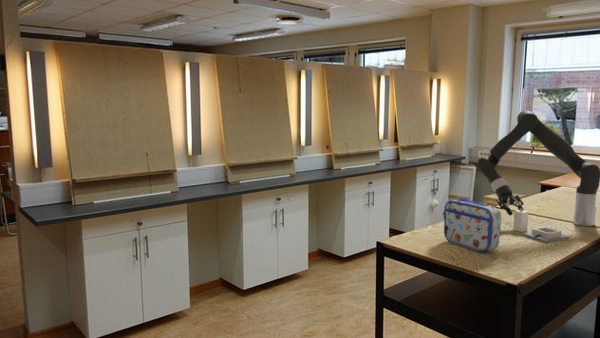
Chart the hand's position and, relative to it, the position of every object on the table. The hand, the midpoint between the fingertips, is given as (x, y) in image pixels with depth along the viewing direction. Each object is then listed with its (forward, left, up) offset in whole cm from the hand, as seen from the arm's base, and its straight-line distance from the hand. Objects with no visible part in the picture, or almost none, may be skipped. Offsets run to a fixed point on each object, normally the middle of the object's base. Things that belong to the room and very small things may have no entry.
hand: (517, 213), depth 239 cm
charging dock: (-1, +17, -8) cm, 19 cm away
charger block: (0, +2, -8) cm, 8 cm away
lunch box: (+43, +11, -8) cm, 45 cm away
